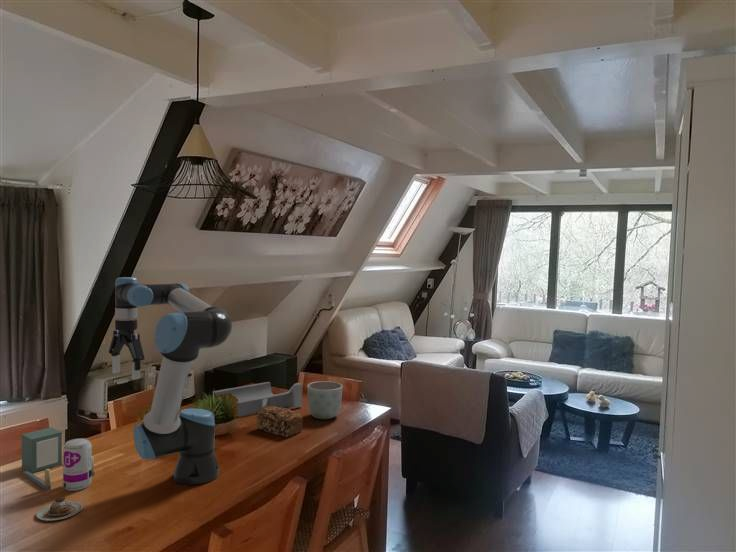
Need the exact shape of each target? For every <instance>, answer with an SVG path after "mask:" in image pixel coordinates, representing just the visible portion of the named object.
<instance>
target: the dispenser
mask: <svg viewBox="0 0 736 552" xmlns="http://www.w3.org/2000/svg"><path fill="white" fill-rule="evenodd" d="M62 435H63V433H62V431H60V430H58V429H56V428H54V427H53V426H51V427H47V428H44V429H43V428H42V429H39V430H34V431H31V432H26V433H22V434H21V468H22V467H23V468H22V469H24V471H22V476H23V477H24V476H25V477H24V478H26V479H27V480H29V481H30V482H32V483H34V484H36V485H37V486H38V487H40V488H42V489H43V490H45V491H46V492H47V491H51V489H52V485H51V467H52V468H54V467H58V466H61V465H62V466H63V449H62V446H63V445H62V444H63V443H62V442H63V436H62ZM94 459H95V456H93V455H91V477H94V476H95V467H94V466H95V465H94V462H95V460H94ZM25 469H26V470H25ZM43 470H44V480H43V479H41V478H40V477H38V476H37V475H35V474H34V473H37V472H41V471H43Z"/></svg>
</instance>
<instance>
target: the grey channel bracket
mask: <svg viewBox="0 0 736 552" xmlns="http://www.w3.org/2000/svg"><path fill="white" fill-rule="evenodd" d="M271 387H272V386H271V382H270V381H266V382H259V383H254V384H250V385H249V384H248V385H242V386H237V387H231V388H230V387H229V388H225V389H224V388H223V389H219V390H213V391H211V392H212V393H213V392H214V393H215V395H220V394H225V393H231V394H232V395H233V396H235V397H236V398H237V399H238V402H237V403H238V405H237V409H238V417H237V418H242V417H246V416H251V415H252V416H253V415H257V414H258V411H259V410H260V409H261V408H263V407H265V406H275V407H281V408H285V409H286V408H288V407H292V408H293V409H294V410H295V409H297V408H300V407H301V409H302V408H303V387H304V386H303V383H301V382H295V383H293V384H292V386H291V387H290V388H289V390H288V391H287V392H282V393H281V392H280V393H276V394H273V392H272V388H271ZM212 393H211V394H212Z"/></svg>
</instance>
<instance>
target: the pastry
mask: <svg viewBox="0 0 736 552" xmlns="http://www.w3.org/2000/svg"><path fill="white" fill-rule="evenodd" d="M82 509H83V505H82V503H80V502H78V501H74V500H73V501H72V500H70V501H69V500H68V499H66V497H64V496H62V497H61V496H60V497H57V498H55V500H54V501H53V502H52V503H51V504H48V505H45V506H44V507H41V508H40V509H39V510H37V512H36V513H35V516H36V518H37V519H38V520H41V521H43V522H50V521H53V522H54V521H59V520H64V519H68V518H69V517H72V516H75V515H77V514H78V513H79V512H81V510H82ZM72 510H74V511H73V512H72ZM71 512H72V513H71ZM46 513H47V515H48V516H51V517H56V518H47V517H46V516H45V514H46ZM67 514H69V515H67ZM65 515H66V516H65ZM61 516H63V517H61ZM57 517H58V518H57Z"/></svg>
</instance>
